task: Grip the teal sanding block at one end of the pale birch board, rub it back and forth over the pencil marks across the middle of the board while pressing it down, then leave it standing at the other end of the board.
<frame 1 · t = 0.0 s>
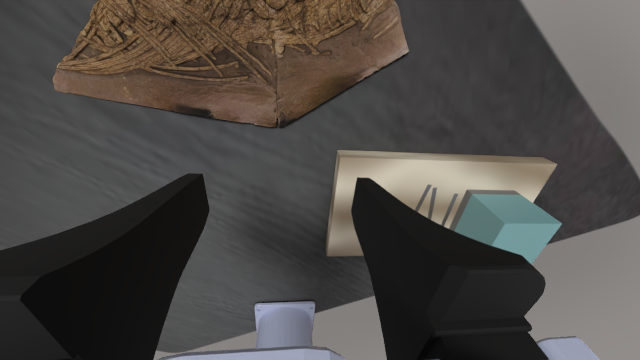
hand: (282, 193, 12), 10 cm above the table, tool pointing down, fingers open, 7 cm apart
wooden fragment: (233, 54, 18), on the table
birch board: (427, 204, 26), on the table
sanding block: (474, 221, 26), point 1 cm above the table, touching birch board
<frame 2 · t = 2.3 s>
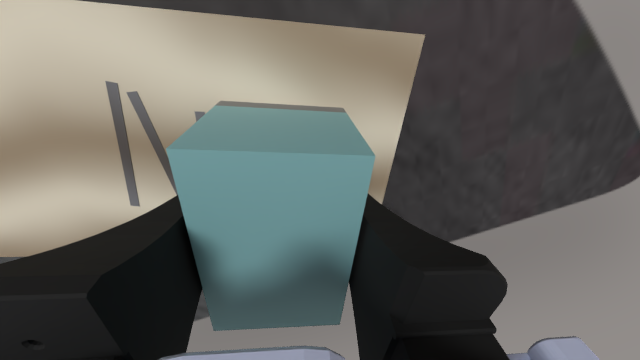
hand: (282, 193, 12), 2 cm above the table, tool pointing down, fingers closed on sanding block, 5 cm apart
birch board: (187, 150, 13), on the table
sanding block: (283, 183, 12), point 1 cm above the table, touching birch board, gripper
when the fingers open (2 cm above the table, at t = 3.5 s): sanding block stays where it is, resting on birch board.
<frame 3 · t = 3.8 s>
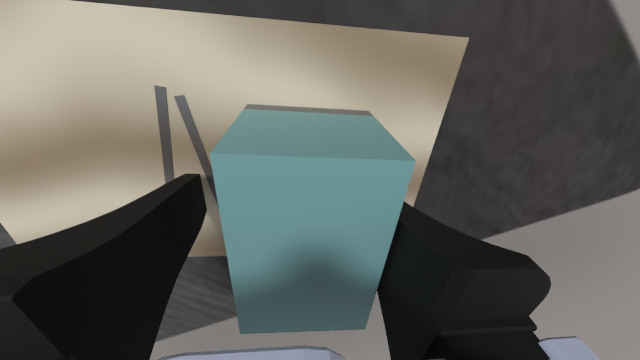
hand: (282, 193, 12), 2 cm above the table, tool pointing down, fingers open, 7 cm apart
birch board: (223, 152, 13), on the table
sanding block: (305, 186, 12), point 2 cm above the table, touching birch board, gripper
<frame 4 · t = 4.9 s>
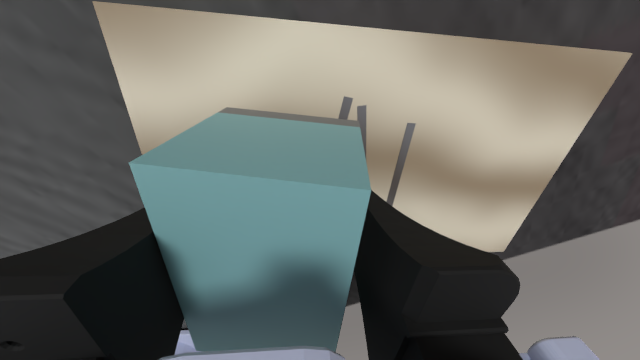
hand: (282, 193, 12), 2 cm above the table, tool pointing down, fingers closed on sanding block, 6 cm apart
birch board: (362, 157, 13), on the table
sanding block: (290, 198, 11), point 2 cm above the table, tilted 10°, touching gripper
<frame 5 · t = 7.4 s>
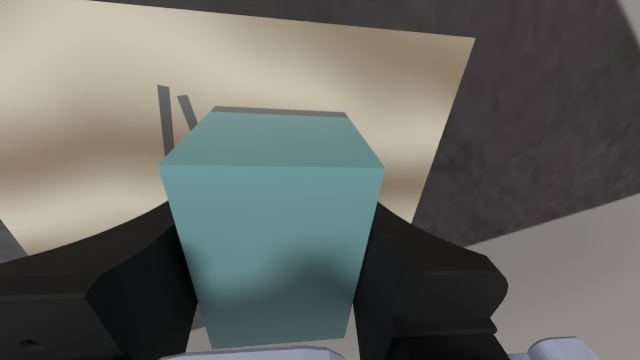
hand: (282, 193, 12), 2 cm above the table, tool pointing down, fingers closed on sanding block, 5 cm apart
birch board: (225, 153, 13), on the table
sanding block: (282, 190, 12), point 2 cm above the table, touching gripper
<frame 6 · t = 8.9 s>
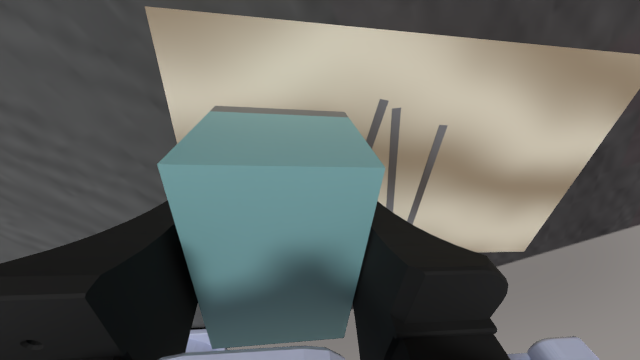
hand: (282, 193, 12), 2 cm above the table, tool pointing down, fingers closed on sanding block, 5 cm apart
birch board: (389, 158, 14), on the table
sanding block: (282, 190, 12), point 2 cm above the table, touching gripper
when the fingers open (2 cm above the table, at t = 10.2 s): sanding block stays where it is, resting on birch board.
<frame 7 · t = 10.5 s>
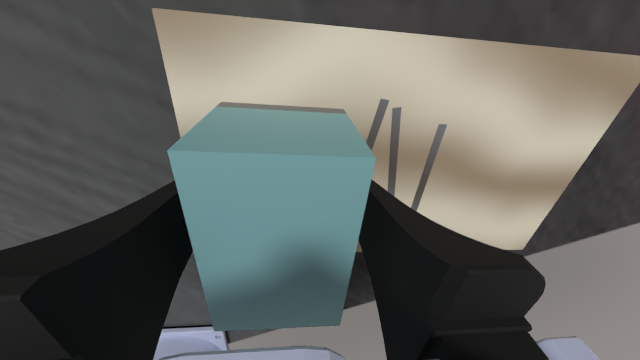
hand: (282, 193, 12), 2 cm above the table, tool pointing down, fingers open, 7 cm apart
birch board: (390, 157, 14), on the table
sanding block: (283, 184, 12), point 1 cm above the table, touching birch board
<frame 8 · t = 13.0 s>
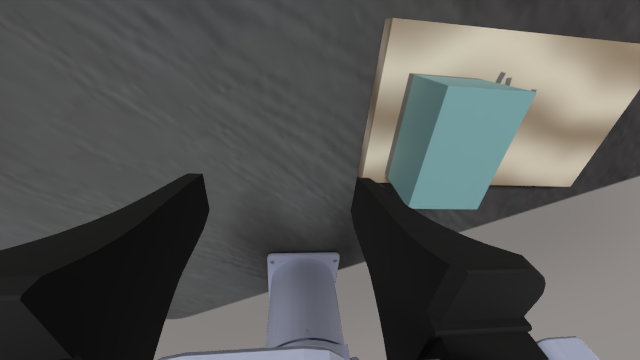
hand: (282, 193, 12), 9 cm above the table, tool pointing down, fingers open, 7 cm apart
birch board: (488, 115, 21), on the table
sanding block: (427, 130, 19), point 1 cm above the table, touching birch board
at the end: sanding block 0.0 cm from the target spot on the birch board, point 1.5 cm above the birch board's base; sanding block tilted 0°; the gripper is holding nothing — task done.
